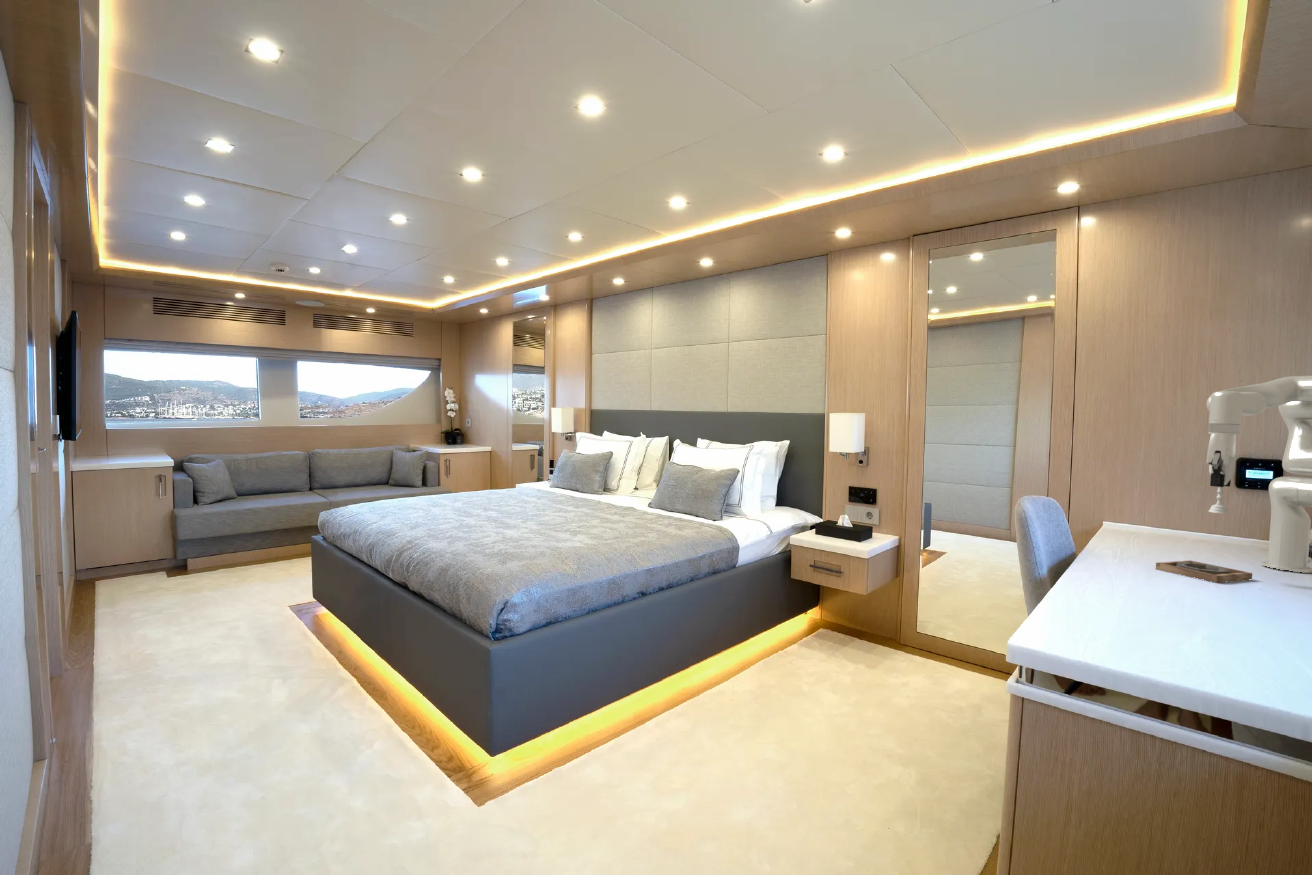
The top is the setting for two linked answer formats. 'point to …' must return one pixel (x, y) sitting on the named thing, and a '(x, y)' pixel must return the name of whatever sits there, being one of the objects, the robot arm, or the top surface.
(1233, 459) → the chalice
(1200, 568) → the holder tray
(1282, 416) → the robot arm
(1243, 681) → the top surface
